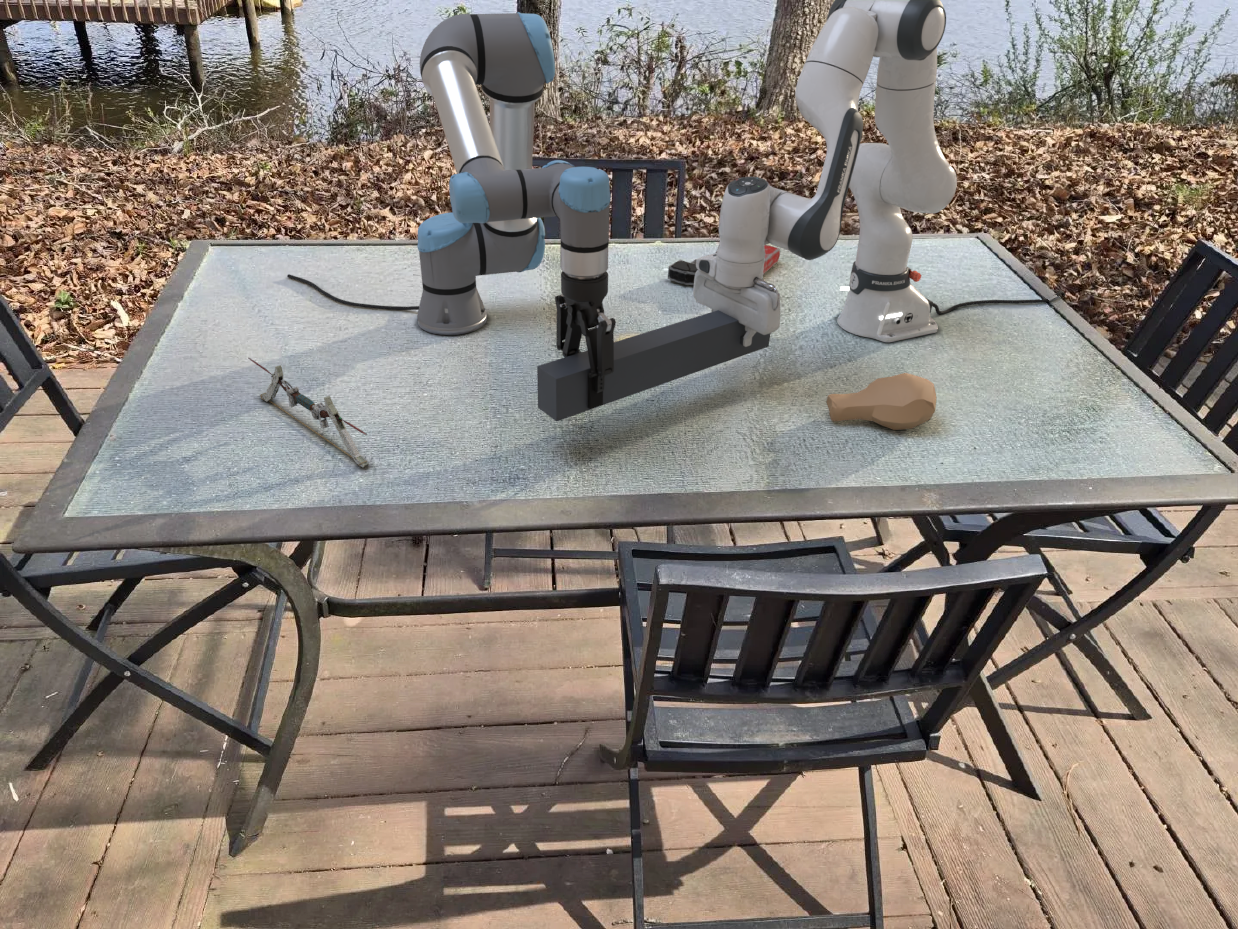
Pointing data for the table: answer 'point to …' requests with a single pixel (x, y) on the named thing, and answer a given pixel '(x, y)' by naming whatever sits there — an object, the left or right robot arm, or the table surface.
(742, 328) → the beam
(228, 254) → the table surface
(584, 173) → the left robot arm
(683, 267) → the gun
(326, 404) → the bow
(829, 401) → the squash
